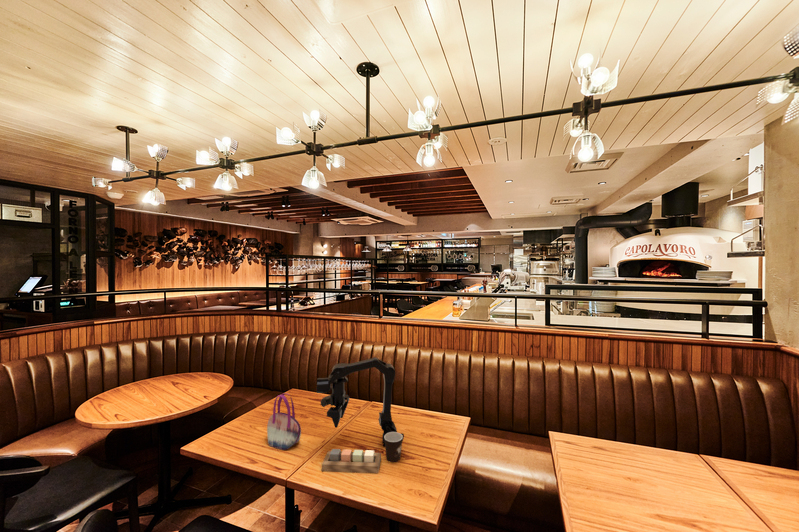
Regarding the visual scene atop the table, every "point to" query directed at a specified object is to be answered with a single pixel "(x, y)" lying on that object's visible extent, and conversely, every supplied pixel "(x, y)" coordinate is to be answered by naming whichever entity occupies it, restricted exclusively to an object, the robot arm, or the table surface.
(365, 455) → the key ivory
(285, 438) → the handbag
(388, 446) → the coffee mug
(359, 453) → the key sage
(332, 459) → the gray cube
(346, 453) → the pink cube
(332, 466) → the key bezel
